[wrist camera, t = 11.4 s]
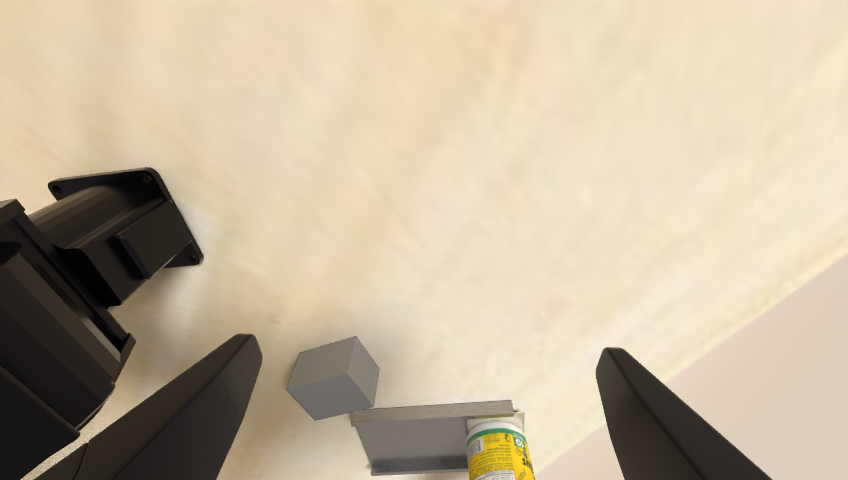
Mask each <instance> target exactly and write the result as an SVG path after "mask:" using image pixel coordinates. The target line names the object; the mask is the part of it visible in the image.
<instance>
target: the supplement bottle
mask: <svg viewBox="0 0 848 480" xmlns="http://www.w3.org/2000/svg"><path fill="white" fill-rule="evenodd" d="M466 446H467V458H468V470H469V480H535V477H534V473H533V468H532V463H531V459H530V455H529V450H528V446H527V442H526V438H525V435H524V433H523V432H522V430H521V429H519V428H518V427H516V426H515V425H513V424H511V423H508V422H502V421H491V422H486V423H482V424H480V425H478V426H476V427H474V428H473V429H472V430H471V431H470V432H469V434H468V436H467V440H466Z"/></svg>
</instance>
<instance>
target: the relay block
mask: <svg viewBox="0 0 848 480" xmlns="http://www.w3.org/2000/svg"><path fill="white" fill-rule="evenodd" d="M378 375H379V368H378V366H377V365H376V363H375V362H374V360H373V359H372V358H371V356H370V355H369V353H368V352H367V350H366V349H365V348H364V346H363V345H362V343H361V342H360V341H359V339H358V338H357V336H355V337H352V338H348V339H345V340H342V341H338V342H335V343H331V344H328V345H324V346H321V347H317V348H314V349H311V350H307V351H304V352H300V355H299V357H298V360H297V362H296V365H295V367H294V370H293V372H292V375H291V377H290V380H289V383H288V385H287V388H286V391H287V392H288V393H289V394H290V395H291V396H292V397H293V398H294V399H295V400H296V401H297V402H298V403H299V404H300V405H301V406H302V407H303V408H304V410H305V411H306V412H307V413H308V414H309V415H310V416H311V417H312V418H313V419H314V420H315V421H316V420H320V419H324V418H329V417H333V416H337V415H341V414H345V413H350V412H354V411H358V410H362V409H366V408H370V407H374V402H375V395H376V388H377V382H378Z"/></svg>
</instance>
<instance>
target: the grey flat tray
mask: <svg viewBox="0 0 848 480" xmlns="http://www.w3.org/2000/svg"><path fill="white" fill-rule="evenodd" d="M491 421H502V422H508V423H511V424H513V425H515V426H516V427H518V428H519V429H521V430H522V432H523V433H524V412H514V411H513V406H512V402H511V400H507V401H491V402H476V403H460V404H445V405H429V406H414V407H399V408H383V409H368V410H358V411H354V412H353V413H352V418H351V426H352V427H353V426H356V427H357V430H358V432H359V435H360V437H361V440H362V442H363V445H364V447H365V450H366V452H367V455H368V457H369V460H370V463H371V465H372V468H371V475H372V476H380V475H401V474H421V473H442V472H462V471H469V470H468V458H467V446H466V440H467V436H468V434H469V432H470V431H471V430H472V429H473V428H474V427H476V426H478V425H480V424H482V423H486V422H491Z"/></svg>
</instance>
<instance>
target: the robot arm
mask: <svg viewBox="0 0 848 480" xmlns="http://www.w3.org/2000/svg"><path fill="white" fill-rule="evenodd" d="M146 174H147V175H149V176H150V178H151V179H149V178H148V177H147V175H146ZM48 188H49V190H50V192H51V193H52V194H53V196H54V197H55V198H56V200H57V202H55V203H53V204H51V205H49V206H47V207H45V208H43V209H41V210H39V211H36V212H34V213H32V214H30V215H28V216H27V215H26V214H25V213H24V212H23V211H25V209H24V207H23V206H22V205H21V204H20V203H19V202H18V200H17V199H10V200H5V201H0V480H20V479H21V478H23V477H24V476H25V475H27V474H28V473H29V472H30V471H32V470H33V469H34V468H36V467H37V466H38V465H39V464H41V463H42V462H43V461H45V460H46V459H47V458H48V457H50V456H52V455H53V454H55V453H56V452H58V451H59V450H61V449H62V448H64V447H66V446H67V445H69V444H70V443H72V442H73V441H75V440H76V439H77V438H78V437H79V436H80V434H81V433H80V432H79V431H80V430H81V429H82V428H83V427H84V426H86V425H87V424H88V423H89V422H90V421H91V420H92V419H93V418H94V417H95V415H96V414H97V413H98V412H99V411H100V410H101V408H102V406H103V405H104V403H105V402H106V400H107V399H108V398H109V396H110V395H111V394H112V393H113V390H114V388H115V382H116V380H117V378H118V376H119V375H120V373H121V371H122V369H123V367H124V365H125V363H126V361H127V359H128V357H129V355H130V353H131V351H132V349H133V347H134V345H135V343H136V340H135V338H134V337H133V336H132V335H131V334H130V333H127V332H126V331H125V330H124V329H123V328H122V326H121V325H120V324H119V323H118V322H117V321H116V319H115V318H114V317H113V316H112V315H111V314H110V312H111V311H112V310H113V309H114V308H115V307H116V306H119V305H121V304H122V303H123V302H125V301H126V300H127V299H128V298H129V297H130V296H131V295H132V294H133V293H134V292H135V291H137V290H138V289H139V288H140V287H141V286H142V285H143V284H144V283H145V282H146V281H147V280H149V279H151V278H152V277H154V276H155V275H156V274H157V273H158V272H159V271H160V270H161V269H162V268H171V267H180V266H190V265H197V264H199V263H200V262H201V261H202V259H203V254H202V252H201V251H200V249H199V247H198V245H197V243H196V241H195V239H194V238H193V236H192V234H191V232H190V230H189V228H188V227H187V225H186V223H185V221H184V219H183V217H182V216H181V214H180V212H179V210H178V208H177V206H176V204H175V203H174V201H173V199H172V197H171V195H170V193H169V192H168V190H167V188H166V186H165V184H164V182H163V181H162V179H161V177H160V175H159V174H158V172H157V171H156V170H154V169H152V168H148V167H146V168H138V169H130V170H122V171H114V172H107V173H99V174H91V175H83V176H75V177H68V178H60V179H56V180H54V181H51V182H49V183H48ZM192 256H194V257H195V258H194V257H192ZM261 364H262V353H261V350H260V347H259V345H258V342H257V339H256V337H255V336H254V335H253V334H243V333H240V334H236V335H235V336H233V337H232V338H230V339H229V340H228V341H226V342H225V343H223V344H222V345H221V346H219V347H218V348H217V349H215V350H214V351H212V352H211V353H210V354H208V355H207V356H205V357H204V358H203V359H201V360H200V361H199V362H197V363H196V364H194V365H193V366H192V367H190V368H189V369H187V370H186V371H185V372H183V373H182V374H181V375H179V376H178V377H176V378H175V379H174V380H172V381H171V382H169V383H168V384H167V385H165V386H164V387H162V388H161V389H160V390H158V391H157V392H156V393H154V394H153V395H151V396H150V397H149V398H147V399H146V400H144V401H143V402H142V403H140V404H139V405H138V406H136V407H135V408H133V409H132V410H131V411H129V412H128V413H126V414H125V415H124V416H122V417H121V418H120V419H118V420H117V421H115V422H114V423H113V424H111V425H110V426H108V427H107V428H106V429H104V430H103V431H101V432H100V433H99V434H97V435H96V436H95V437H93V438H92V439H90V440H89V442H88V443H85V444H83V445H82V446H81V447H79V448H78V449H76V450H75V451H74V452H72V453H71V454H69V455H68V456H67V457H65V458H64V459H62V460H61V461H60V462H58V463H57V464H55V465H54V466H52V467H51V468H50V469H48V470H47V471H45V472H44V473H42V474H41V475H40V476H38V477H37V478H35V479H34V480H216V479H217V477H218V474H219V472H220V470H221V468H222V465H223V463H224V461H225V459H226V456H227V454H228V452H229V450H230V448H231V445H232V443H233V441H234V439H235V436H236V434H237V432H238V430H239V427H240V425H241V423H242V420H243V418H244V415H245V412H246V409H247V406H248V403H249V400H250V397H251V394H252V391H253V388H254V385H255V382H256V379H257V376H258V373H259V370H260V367H261ZM596 379H597V383H598V388H599V392H600V396H601V400H602V405H603V409H604V413H605V417H606V422H607V426H608V430H609V434H610V438H611V441H612V444H613V447H614V450H615V453H616V456H617V459H618V462H619V465H620V467H621V470H622V473H623V476H624V479H625V480H772V479H771V478H770V477H769V476H768V475H767V474H766V473H764V472H763V471H762V470H761V469H760V468H759V467H758V466H756V465H755V464H754V463H753V462H752V461H751V460H749V459H748V458H747V457H746V456H745V455H744V454H743V453H742V452H740V451H739V450H738V449H737V448H736V447H735V446H734V445H732V444H731V443H730V442H729V441H728V440H727V439H726V438H724V437H723V436H722V435H721V434H720V433H718V431H716V430H715V429H714V428H713V427H712V426H711V425H710V424H708V423H707V422H706V421H705V420H704V419H703V418H702V417H701V416H699V415H698V414H697V413H696V412H695V411H693V409H691V408H690V407H689V406H688V405H687V404H686V403H684V402H683V401H682V400H681V399H680V398H679V397H678V396H677V395H676V394H674V393H673V392H672V391H671V390H670V389H668V387H666V386H665V385H664V384H663V383H662V382H661V381H660V380H658V379H657V378H656V377H655V376H654V375H653V374H652V373H650V372H649V371H648V370H647V369H646V368H645V367H644V366H642V365H641V364H640V363H639V362H638V361H637V360H636V359H635V358H633V357H632V356H631V355H630V354H629V353H628V352H627V351H625V350H624V349H622V348H614V347H606V348H604V349H603V351H602V354H601V356H600V359H599V362H598V365H597V367H596Z"/></svg>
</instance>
